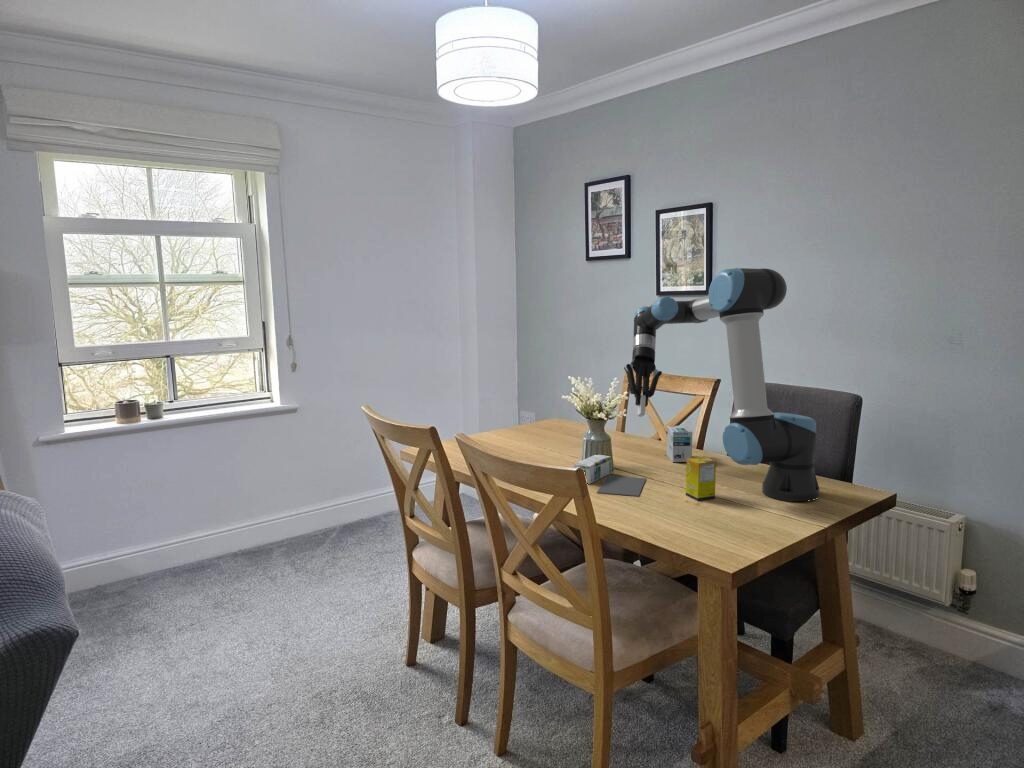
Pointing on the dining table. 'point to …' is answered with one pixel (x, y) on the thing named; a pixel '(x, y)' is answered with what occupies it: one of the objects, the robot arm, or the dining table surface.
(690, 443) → the light bulb box
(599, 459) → the syrup box
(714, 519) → the dining table surface
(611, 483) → the mat
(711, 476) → the supplement box
